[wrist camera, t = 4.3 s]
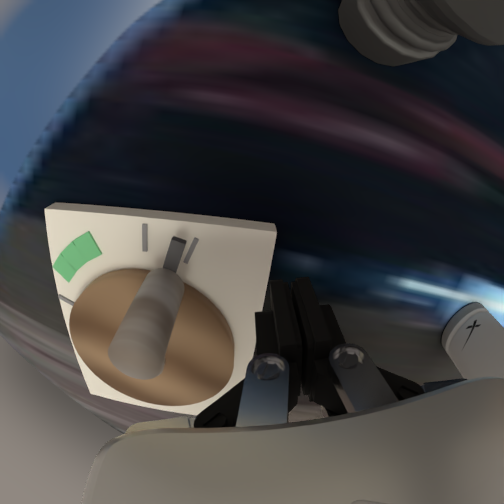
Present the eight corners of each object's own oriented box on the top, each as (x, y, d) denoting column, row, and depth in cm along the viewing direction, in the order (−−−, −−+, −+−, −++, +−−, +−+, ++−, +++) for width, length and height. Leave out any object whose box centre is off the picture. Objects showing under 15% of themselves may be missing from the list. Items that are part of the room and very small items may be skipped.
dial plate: (239, 407, 27) (239, 420, 25) (94, 383, 26) (90, 394, 24) (274, 223, 19) (277, 233, 17) (55, 202, 17) (43, 209, 16)
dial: (206, 407, 24) (199, 481, 17) (77, 361, 22) (44, 427, 15) (285, 265, 18) (309, 359, 11) (91, 193, 16) (8, 246, 8)
